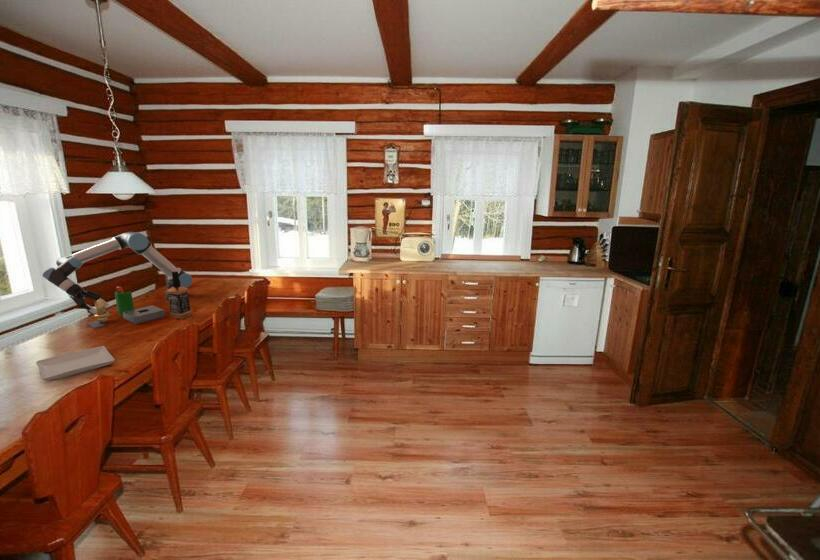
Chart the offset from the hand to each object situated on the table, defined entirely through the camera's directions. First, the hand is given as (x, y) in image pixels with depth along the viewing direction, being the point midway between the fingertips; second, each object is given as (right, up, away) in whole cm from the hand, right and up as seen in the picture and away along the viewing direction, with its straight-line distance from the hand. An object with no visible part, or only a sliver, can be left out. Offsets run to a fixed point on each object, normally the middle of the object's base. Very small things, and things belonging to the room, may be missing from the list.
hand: (101, 309), depth 250 cm
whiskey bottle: (+43, -7, +15) cm, 46 cm away
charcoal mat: (-1, -10, +3) cm, 10 cm away
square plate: (+32, -25, -56) cm, 69 cm away
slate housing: (+21, -8, +11) cm, 25 cm away
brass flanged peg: (-1, -9, +2) cm, 9 cm away
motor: (0, -5, +22) cm, 23 cm away
